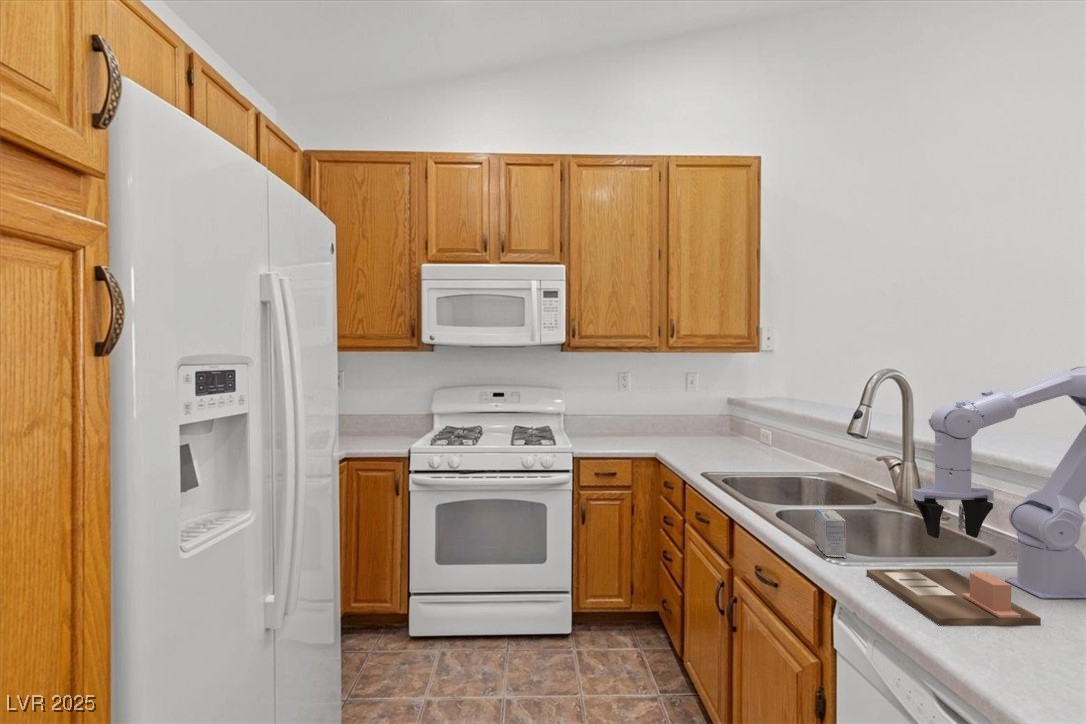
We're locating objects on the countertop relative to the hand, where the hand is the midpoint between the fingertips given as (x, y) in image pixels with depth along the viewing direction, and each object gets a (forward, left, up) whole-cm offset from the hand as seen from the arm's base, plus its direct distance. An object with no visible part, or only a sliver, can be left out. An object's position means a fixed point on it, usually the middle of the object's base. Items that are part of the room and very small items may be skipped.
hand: (952, 536), depth 104 cm
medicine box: (+15, -17, -10) cm, 25 cm away
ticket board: (+6, +6, -9) cm, 13 cm away
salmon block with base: (+3, +12, -8) cm, 15 cm away
